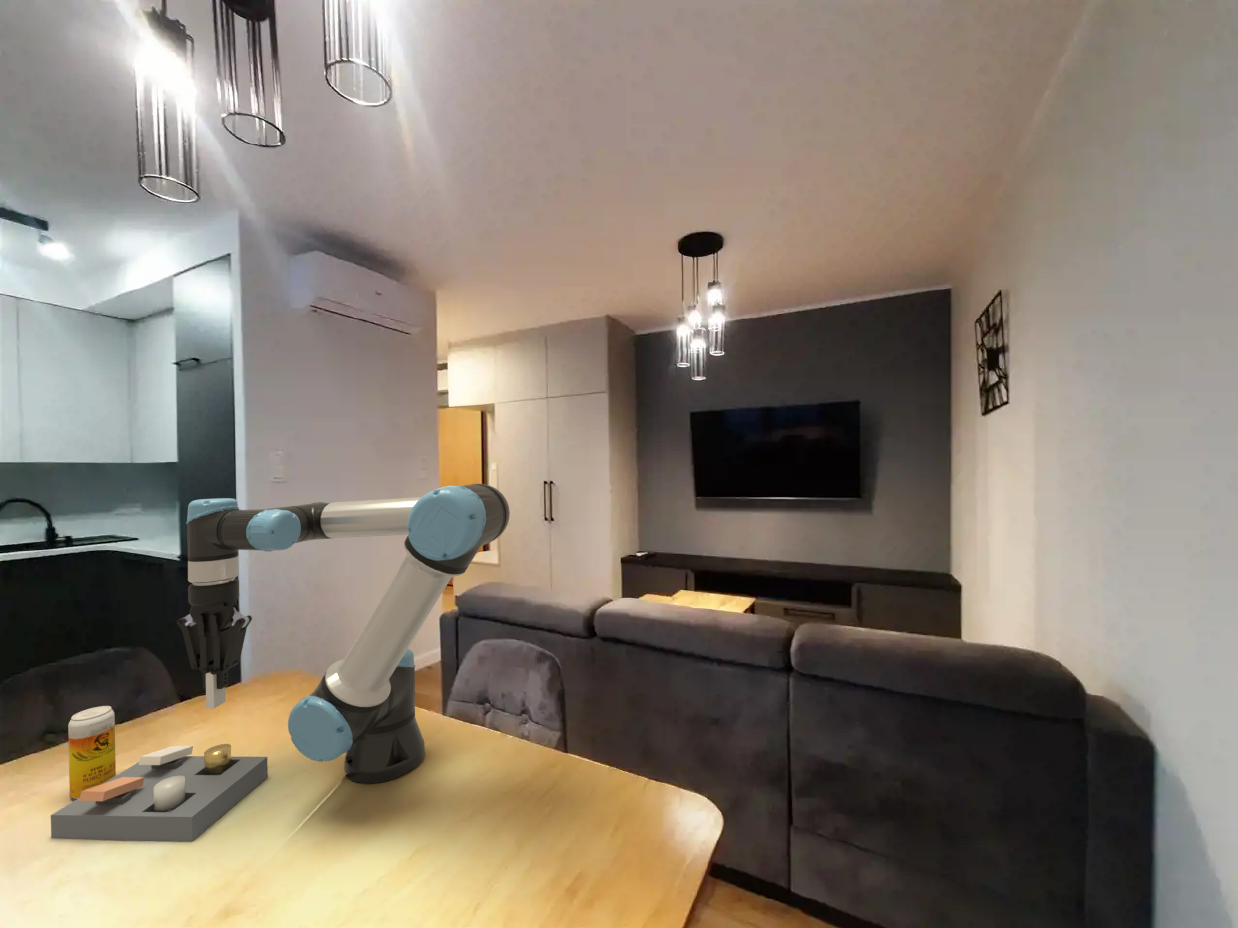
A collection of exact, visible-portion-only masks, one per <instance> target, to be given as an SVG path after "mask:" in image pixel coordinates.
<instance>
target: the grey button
mask: <svg viewBox="0 0 1238 928" xmlns="http://www.w3.org/2000/svg"><path fill="white" fill-rule="evenodd" d="M184 800H185V777H184V776H173V777H170V778H167V779H164V780H162V781H160V782H159V783H157V784H156V785H155V786H154V810H155V811H166V810H169V809H172V808H174V807H176V806H178V805H180V804H181V803H183V802H184Z"/></svg>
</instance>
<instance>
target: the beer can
mask: <svg viewBox="0 0 1238 928" xmlns="http://www.w3.org/2000/svg"><path fill="white" fill-rule="evenodd" d="M115 715H116V714H115V712H114V710H113V709H112V706H110V705H102V706H96V707H91V708H88V709H85V710H84V709H83V710H81V711H79V712H76V713H75V714H73V715H72V716H71V718H70V721H69V722H68V726H67V728H68V768H69V769H68V775H69V797H70V798H72V799H74V800H75V799H78V798H80V795H81V791H84V790H87V789H90V788H93V787H95V786H98V785H101V784H103V783H105V782H106V781H108V780H110V779H111V778H113V777H115V776H116V775H117V773H116V771H117V770H116V769H117V767H116V765H117V764H116V761H117V760H116V724H115V721H116V719H115Z"/></svg>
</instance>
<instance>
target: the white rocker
mask: <svg viewBox="0 0 1238 928" xmlns="http://www.w3.org/2000/svg"><path fill="white" fill-rule="evenodd" d="M193 747H194V745H172V746H169V747H166V748H162V749H159V750H155V751H153V752H149V753H147V754H144V755H141V756H139V760H138V762H139V765H161V764H164V763H167V762H170V761H173V760H176V759H179V758H181V757H184V756H191V755H192V754H193Z"/></svg>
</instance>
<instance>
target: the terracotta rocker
mask: <svg viewBox="0 0 1238 928" xmlns="http://www.w3.org/2000/svg"><path fill="white" fill-rule="evenodd" d="M143 782H144V777H121V778H119V779H116V780H113V781H110V782H107V783H104V784H101V785H98V786H95V787H93V788H90V789H87V790H84V791H81V795H80V800H79V801H105V800H107V799H110V798H113V797H115V796H118V795H121V794H123V793H126V792H128V791H131V790H134V789H136V788H139V787H142V786H143Z"/></svg>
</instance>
